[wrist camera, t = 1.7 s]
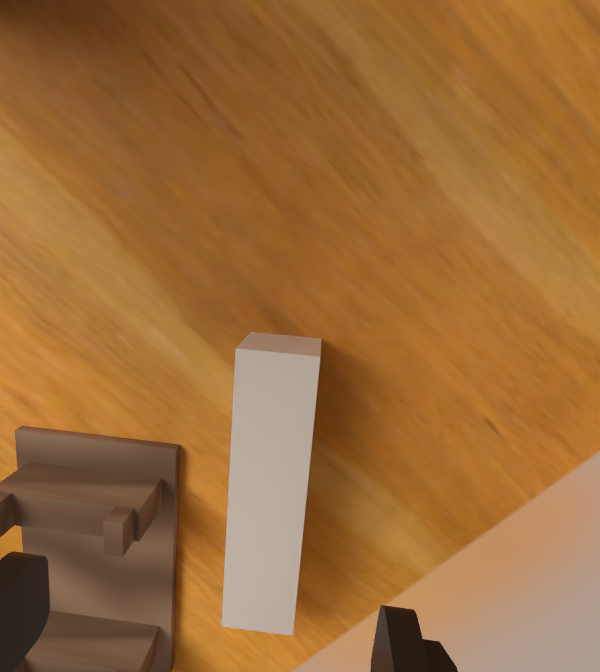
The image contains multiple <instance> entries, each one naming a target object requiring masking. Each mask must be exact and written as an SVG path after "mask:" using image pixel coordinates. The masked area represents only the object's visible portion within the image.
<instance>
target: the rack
mask: <svg viewBox="0 0 600 672" xmlns="http://www.w3.org/2000/svg"><path fill="white" fill-rule="evenodd" d="M15 438H16V453H17V468H18V470H17V471H16V472H14V473H13V474H11V475H10V476H8V477H7V478H6V479H4V480H3V481H1V482H0V537H1V536H2V535H4V534H5V533H6V532H7V531H8V530H9V529H10V528H12V527H13V526H14V525H17V526H21V527H22V542H23V553H28V554H35V555H42V556H45V557H46V558H47V560H48V570H49V593H50V612H49V617H48V620H47V623H46V625H45V627H44V630H43V632H42V633H41V635H40V637H39V638H38V640H37V641H36V643H35V644H34V645H33V647H32V648H31V649H30V651H29V652H28V653H27V655H26V656H25V657H24V659H23V660H22V661H21V663H20V664H19V665H18V667H17V668H16V669H15V671H14V672H171V671H172V668H173V657H174V622H175V587H176V552H177V517H178V482H179V447H180V445H177V444H168V443H160V442H151V441H143V440H135V439H126V438H118V437H109V436H101V435H93V434H84V433H76V432H67V431H59V430H51V429H42V428H34V427H25V426H22V427H20V428H18V429H16V430H15Z"/></svg>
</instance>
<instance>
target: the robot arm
mask: <svg viewBox="0 0 600 672" xmlns="http://www.w3.org/2000/svg"><path fill="white" fill-rule="evenodd" d="M49 612H50V593H49V570H48V560H47V558H46V557H45V556H42V555H35V554H28V553H21V552H10V553H8V554H7V555H5V556H4V557H3V558H2V559H1V560H0V672H14V671H15V669H16V668H17V667H18V665H19V664H20V663H21V661H22V660H23V659H24V657H25V656H26V655H27V653H28V652H29V651H30V649H31V648H32V647H33V645H34V644H35V643H36V641H37V640H38V638H39V637H40V635H41V633H42V632H43V630H44V627H45V625H46V623H47V620H48V617H49ZM371 672H458V671H457V667H456V666H455V664H454V663H453V661H452V660H451V659H450V657H449V655H448V654H447V652H446V651H445V649H444V648H443V646H442V645H441V643H440V642H438V641H431V640H425V639H422V635H421V631H420V626H419V623H418V619H417V615H416V612H415V611H414V610H412V609H405V608H398V607H391V606H384V605H381V607H380V611H379V616H378V622H377V628H376V634H375V640H374V646H373V652H372V658H371Z"/></svg>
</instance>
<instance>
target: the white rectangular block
mask: <svg viewBox="0 0 600 672" xmlns="http://www.w3.org/2000/svg"><path fill="white" fill-rule="evenodd" d="M321 341H322V339H320V338H310V337H300V336H290V335H279V334H269V333H259V332H251V333H250V334H249V335H248V336H247V337H246V338H245V339H244V340H243V341H242V342H241V343H240V344H239V345H238V346H237V347H236V353H235V372H234V392H233V411H232V431H231V450H230V470H229V489H228V509H227V528H226V548H225V567H224V587H223V606H222V626H223V627H231V628H238V629H246V630H253V631H261V632H268V633H276V634H283V635H291V636H293V630H294V619H295V609H296V599H297V589H298V579H299V569H300V559H301V549H302V538H303V528H304V518H305V508H306V498H307V488H308V478H309V468H310V458H311V447H312V437H313V427H314V417H315V407H316V397H317V387H318V377H319V366H320V356H321Z"/></svg>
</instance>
